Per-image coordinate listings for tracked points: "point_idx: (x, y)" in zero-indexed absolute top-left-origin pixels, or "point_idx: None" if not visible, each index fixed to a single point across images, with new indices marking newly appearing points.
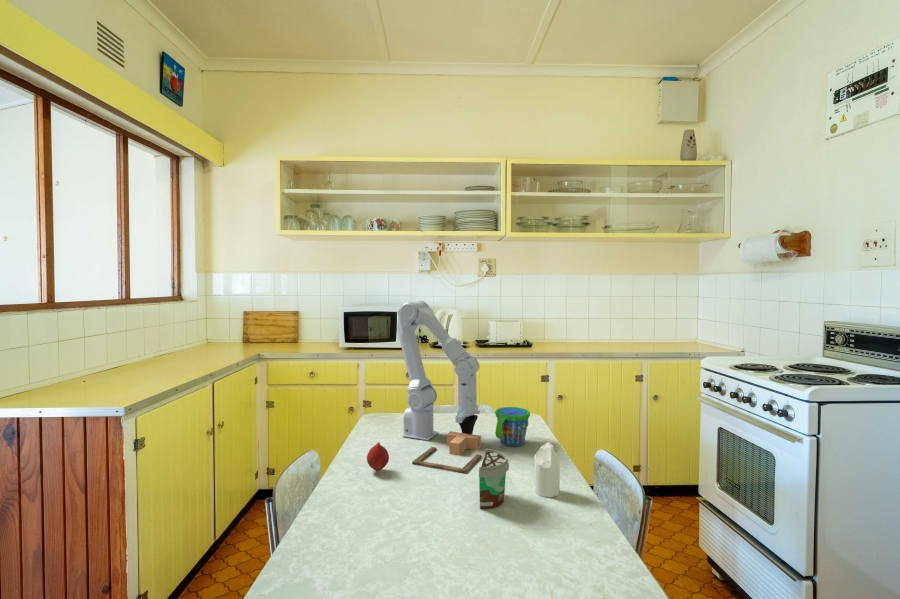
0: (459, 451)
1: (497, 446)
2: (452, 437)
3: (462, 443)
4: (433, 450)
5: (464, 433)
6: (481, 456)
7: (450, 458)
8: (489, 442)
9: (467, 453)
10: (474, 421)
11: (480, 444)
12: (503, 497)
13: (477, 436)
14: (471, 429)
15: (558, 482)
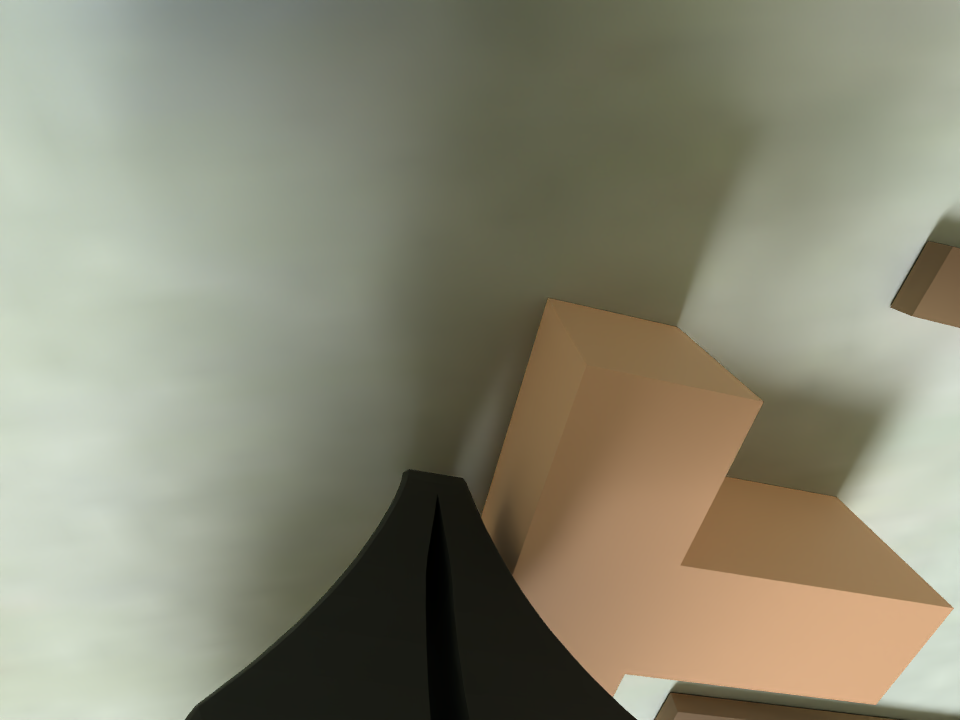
0: (847, 519)
1: (496, 18)
2: None
3: (801, 554)
4: (732, 711)
5: None
6: (935, 243)
7: (909, 551)
8: (334, 185)
9: (785, 423)
10: (428, 699)
11: (564, 311)
12: None
13: (640, 413)
14: (487, 582)
15: None
